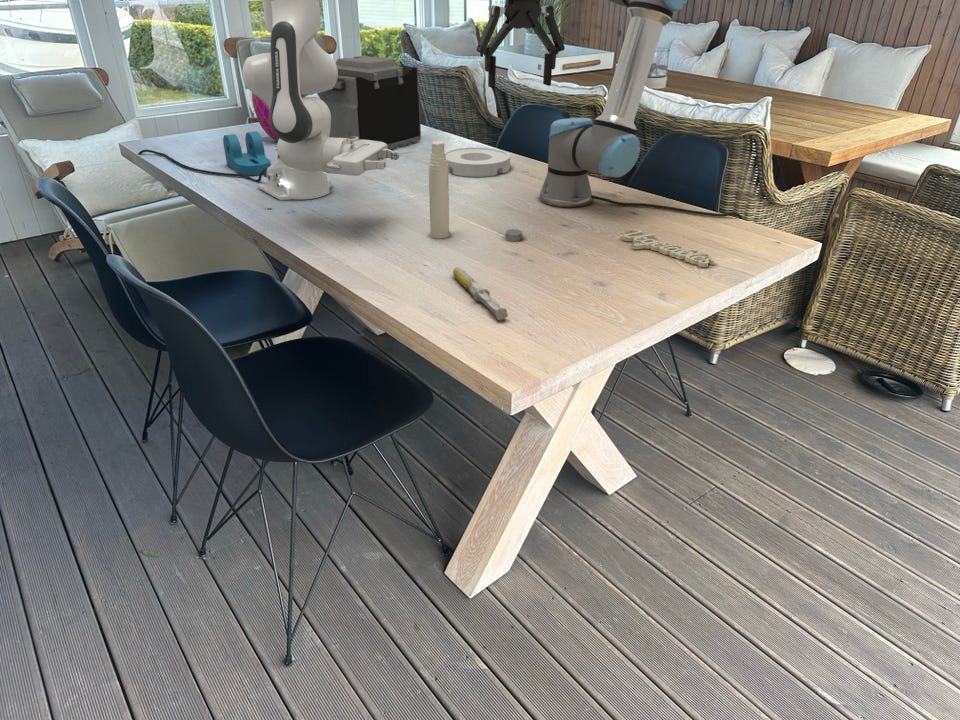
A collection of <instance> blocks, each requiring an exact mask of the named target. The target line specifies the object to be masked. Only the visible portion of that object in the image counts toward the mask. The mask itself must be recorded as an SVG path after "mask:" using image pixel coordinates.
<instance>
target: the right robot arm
mask: <svg viewBox="0 0 960 720" xmlns="http://www.w3.org/2000/svg"><path fill="white" fill-rule="evenodd" d="M608 2H612V3H613V4H616V5H619V6H622V7H626V8H627V9H626V12H627V14H628V16H629V18H630V20H629V22H628V26H627V30H626V33H625V35H624V36H625V37H624V40H623V43H622V46H621V50H620V53H619V57H618V60H617V64H616V67H615V71H614V73H613V77H612V81H611V84H610V87H609V91H608V94H607V98H606V101H605V105H604V108H603V112H602V113H601V114H600V115H599V116H597V117H595V119H594V121H593V119H592V118H589V117H570V118H568V117H567V118H562V119H556V120H554V121H553V122H552V123H551V125H550V129H549V130H550V131H549V135H548V156H547V158H548V159H547V173H546V176H545V178H544V181H543V184H542V187H541V189H540V191H539V200H540V202H542V203H543V204H546V205H549V206H553V207H558V208H559V207H560V208H580V207H584V206H588V205H589V204H591V203H592V199H594V200H598V201H602V202H606V203H610V204H612V205H616V206H617V205H618V206H624V207H625V206H626V207H648V208H655V209H662V210H670V211H676V212H681V213H688V214H694V215H701V216H707V217H708V216H709V217H719V218H720V217H722V218H723V217H731V216H735V217H737V218H738V219H739V220H743V219H744V218H743V216H742V215H741V214H740V213H738V212H735V211H734V212H733V211H732V212H725V213H718V212H717V213H716V212H708V211H700V210H693V209H687V208H680V207H674V206H668V205H661V204H655V203H654V204H653V203H645V202H644V203H642V202H622V201H616V200H613V199H609V198H606V197H601V196H597V195H593V193H592V188H591V184H590V179H589V172H592V173H595V174H597V175H601V176H604V177H610V178H621V177H623V176H626V175H627V173H629V172H630V171H632V169H633V168H634V166H635V165H636V163H637V161H638V159H639V156H640V152H641V146H640V145H641V142H640V139H639V138H638V137H637V131H638V128H637V126H636V124H635V119H636V116H637V113H638V109H639V106H640V102H641V100H642V98H643V97H642V96H643V93H644V90H645V87H646V83H647V80H648V77H649V73H650V71H651V67H652V64H653V61H654V57H655V54H656V51H657V47H658V44H659V42H660V38H661V35H662V31H663V29H664V27H665V26H666V25H668V24H669V23H671V22H672V19H673V16H674V13H675V12H678V11H680V10H682V9H683V8H684V7H685V6H686V4H687V3H688V0H608ZM554 8H555V7H554V6H553V5H550V4H545V5H544V6H541V0H505V4H504V6H499V5H495V4H493V5H491V8H490V16H489V18H488V21H487V23H486V26H485V27H484V30H483V32H482V35H481V37H480V39H479V42H478V43H477V46H476V49H475V50H476V52H477V53H480V54H482V55H483V56H484V71H485V72H487V74H488V76H487V86H488V88H491V89H496V79H497V77H496V76H497V75H496V73H497V72H496V71H497V56H495V55H494V54H495V52H496V51H497V50H498V48H499V47H500V46H501V44H502V42H504V40H505V38H506V37H508V35H509V33H510V32H511V31H512V30H513V29H516V30H517V29H518V30H519V29H520V30H521V29H532V30H533V31H534V33H535V35H536V36H537V37H538V39H539V40H540V42H541V43H542V45H543V46H544V47H545V49H546V51H547V52H548V53H547V52H546V53H544V61H543V80H542V84H543V85H545V86H547V87H550V86H552V76H553V75H552V72H553V70H555V69H556V64H557V63H556V62H557V56H558V54H559V53H560V52H563V51H565V44H564V41H563V38H562V36H561V32H560V30H559V27H558V24H557V22H556V19H555V9H554ZM503 14H504V16H505V18H506V19H505V20H504V22H503V23H502V25H501V27H500V29H499V30H498V31H497V33H496V34H495V36H494V37H493V38H492V36H493V34H494V32H495V30H496V27H497V26H498V22H499V20H500V18H501V17H503ZM541 14H542V16H543V17H544V19H545V24H546V25H547V28H548V31H549V34H550V36H551V38H550V37H549V35H548V34H547V32H546V31H545V30H544V28H543V25H542V23H541V22H540V21H539V17H540V15H541Z"/></svg>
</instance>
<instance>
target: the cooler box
mask: <svg viewBox="0 0 960 720" xmlns="http://www.w3.org/2000/svg"><path fill="white" fill-rule="evenodd" d="M335 63H336V66H337V69H338V78H337V82H336V84H335V86H334V87H333V89H330V90H327V91H324V92H320V93H316V94H317V96H318V98H320V99H321V100H323V101H324V102H325V103H326V104H327V105H328V107H329V109H330V112H331V117H332V121H331V132H330V137H332V138H347V137H358V138H359V140H372V141H379V142H384V143H386V144H387V146H388V149H389V150H395V149H396V148H397V147H405V146H407V145H408V144H416V143H418V142H419V141H421V137H422V128H421V97H420V92H419V91H420V89H419V68H418V67H417V66H408V65H400V64H396V62H395V60H394V59H393V58H385V57H377V56H367V55H356V56H353V57H350V58H349V57H343V58H342V57H341V58H337V59H336V60H335Z"/></svg>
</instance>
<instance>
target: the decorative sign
mask: <svg viewBox="0 0 960 720" xmlns="http://www.w3.org/2000/svg"><path fill="white" fill-rule="evenodd" d="M622 240H623V241H624V242H625V241H626V242H632V249H633V250H643V249H646V250H647V249H648V250H649V249H650V250H651V251H655V252H658V253H660V254H663V255H665V256H667V255H668V256H669V257H672V258H675V259H676V260H677V259H678V260H684V262H686V263H690V264H692V265H697V266H698V267H700V268H708V267H709V264H710V265H711V266H713V265H714V264H715V259H713V258H710V257H708V255H709V253H708V252H705V251H704V252H698V249H697V248H690V249H689V248H688V249H683V248H682V245H679V244H678V243H672V242H669V241H667V242H660V241H659V240H656V239H655V234H654V233H647V234H646V233H645V234H643V230H640V229H636V228H629V230H628V233H625V234H623V237H622Z"/></svg>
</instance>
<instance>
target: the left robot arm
mask: <svg viewBox="0 0 960 720" xmlns="http://www.w3.org/2000/svg"><path fill="white" fill-rule="evenodd" d="M262 8H263V16H264V17H263V18H264V25H265V28H266V30H267V31H268V32H269V33H270V52H263V53H258V54H255V55H251V56H248V57H247V58H246V59H245V60H244V63H243V66H242V79H243V83H244V84H245V87H247V89H248V90H249V92H251V94H252V93H253V94H255V95H256V96H258V97H259V98H261V99H262V100H263V101H264V102H265V103H266V104H267V105H268V107H269V108H270V112H269V121H270V125H271V127H272V130H273V131H274V133H275V134H276V135H277V136H278V137H279V140H277V143H276V146H275V148H276V149H275V152H276V151H277V158H276V159H275V160H274V161H273V162H272V163H271V166H269V167H265V168H263V171H262V172H261V173H260V175H258V178H257V179H255V178H252V177H251V176H250V175H243V174H240V173H229V172H220V171H211V170H205V169H200V168H197V167H196V168H195V167H192V166H189V165H186V164H183V163H181V162H179V161H177V160H176V159H174V158H172V157H171V156H169V155H168V154H166V153H164V152H159V151H156V150H152V149H142V150H140V151H139V152H138V155H142V154H143V153H151V154H155V155H159V156H162V157H165V158H166V159H168V160H170V161H171V162H173V163H175V164H177V165H179V166H180V167H182V168H185V169H188V170H191V171H194V172H199V173H204V174H210V175H217V176H226V177H238V178H245V179H248V180H249V181H252V182H254V183H258V182H261V180H262V178H263V177H264V178H266V182H264V183H262V184H260V185H259V189H260V190H261V191H263V192H264V193H267V194H269V196H272V197H274V198H276V199H277V200H280V201H287V200H312V199H317V198H321V197H324V196H327V195H328V194H330V191H331V190H330V188H331V187H332V184H331V183H330V182H329V179H328V174H331V175H344V176H350V177H351V176H352V177H357V176H358V177H359V176H361V175H362V174H364V173H366V172H367V171H373V170H385V169H386V167H387V165H386V164H387V162H386V161H385V160H386V159H390V160H392V161H394V160H395V161H397V160H399V159H400V152H399V151H396V150H393V149H391V150H389V149H388V146H387V144H386V143H384V142H379V141H372V140H359V138H358V137H347V138H332V137H330V132H331V121H332V117H331V112H330V109H329V107H328V105H327V104H326V103H325V102H324V101H323V100H321V99H320V98H319V97H317V96H305V97H301V94H305V95H308V94H309V95H310V94H311V95H313V94H317V93H320V92H324V91H327V90H330V89H333V87H334V86H335V84H336V82H337V78H338V69H337V66H336V60H334V58H333V57H332V56H331V55H330V53H328V52H327V51H325V50H324V49H323V48H322V47H321V46H320V45H319V44H318V42H317V41H316V39H315V37H316V36H317V35H318V33H319V30H320V26H321V25H320V24H321V8H320V0H262Z"/></svg>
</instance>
